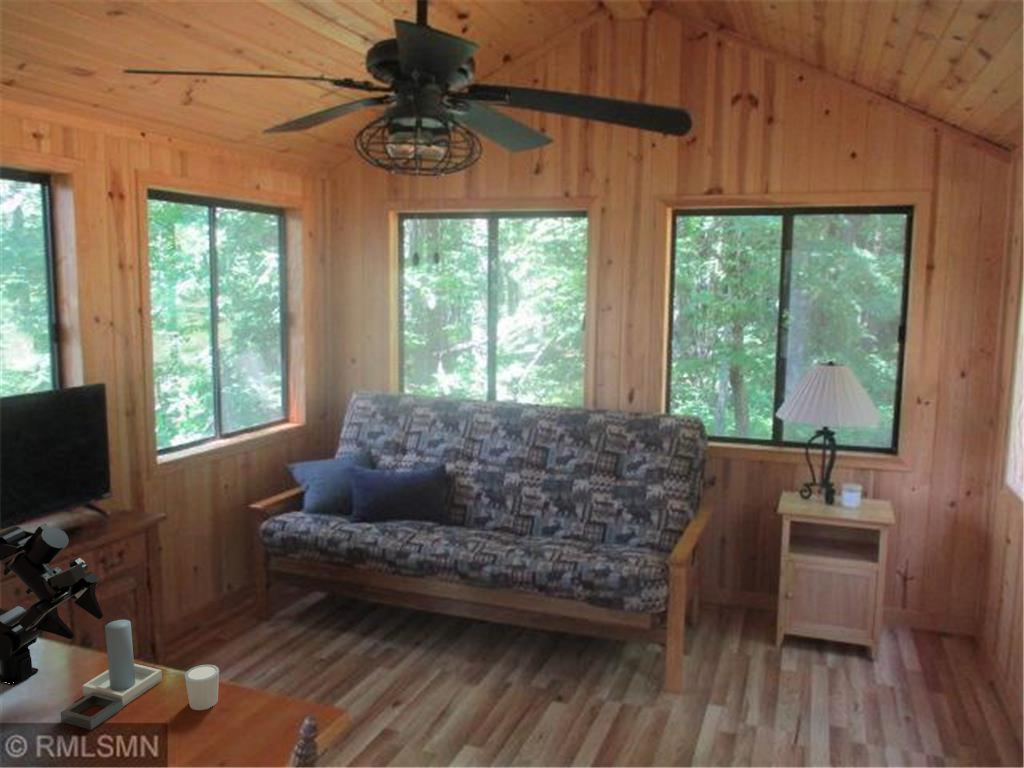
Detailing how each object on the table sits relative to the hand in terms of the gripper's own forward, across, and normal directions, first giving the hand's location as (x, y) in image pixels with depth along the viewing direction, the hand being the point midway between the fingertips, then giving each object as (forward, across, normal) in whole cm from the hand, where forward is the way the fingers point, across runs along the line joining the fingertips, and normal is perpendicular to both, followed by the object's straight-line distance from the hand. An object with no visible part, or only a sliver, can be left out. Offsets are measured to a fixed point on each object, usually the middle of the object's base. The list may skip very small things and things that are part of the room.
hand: (87, 627), depth 173 cm
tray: (+15, 0, +4) cm, 16 cm away
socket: (+15, -10, +4) cm, 19 cm away
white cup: (+29, -2, -10) cm, 31 cm away
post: (+14, 0, +4) cm, 15 cm away
